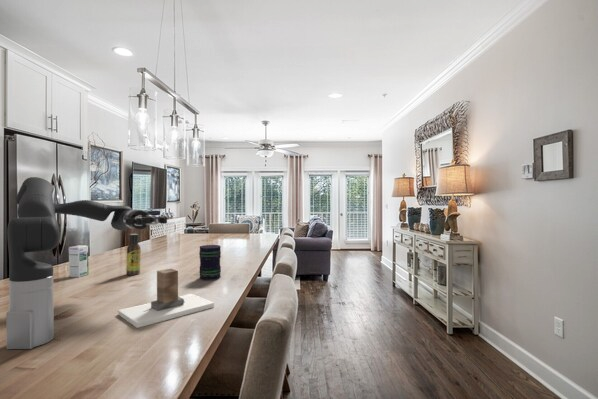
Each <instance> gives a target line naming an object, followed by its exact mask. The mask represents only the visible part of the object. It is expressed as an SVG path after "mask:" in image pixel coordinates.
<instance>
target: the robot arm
mask: <svg viewBox="0 0 598 399" xmlns="http://www.w3.org/2000/svg"><path fill="white" fill-rule="evenodd" d="M54 191H55V187H54V185H53V184H52V183H51V182H50V181H48V180H46V179H45V178H41V177H39V176H38V177H37V176H31V177H27V178H25V179H24V181H23V182H22V183H21V185H20V188H19V190H18V192H17V194H16V196H15V199H14V201H15V204H17V205H18V206H17V210H16V211H17V217H13V218H11V219H10V220H9V222H8V224H7V233H6V234H7V246H8V247H7V249H8V261H9V262H8V264H9V265H8V268H9V270H8V272H9V275H8V276H9V277H8V281H9V282H8V286H9V287H8V288H9V289H8V291H9V294H8V295H9V296H8V297H9V298H8V300H9V301H8V303H9V305H8V306H9V310H8V311H6V316H5V319H6V322H5V323H6V350H31V349H33V348H35V347H39V346H42V345H44V344H48V343H49V342H51V341H52V340H53V339H54V338H55V334H54V333H55V332H54V331H55V329H54V328H55V324H54V322H55V321H54V320H55V317H54V313H55V311H54V310H55V308H54V267H53V266H54V265H52V264H50V263H47V262H42V261H38V260H37V261H36V260H33V259H31V258H29V257H27V256H26V255H25V253H36V252H37V253H38V252H45V251H52V250H53V249H55V248H56V247H58V244H59V242H60V238H61V236H60V235H61V233H60V226H59V223H58V220H57V218H56V214H60V215H69V216H76V217H83V218H87V219H90V220H95V221H99V222H105V221H107V219H108V218H109V216H110V215H111V214H112V213H113V215H112V218H111V220H110V221H111V222H110V225H111V227H112V228H113V229H114V230H117V231H126V230H128V229H132V230H133V229H134V230H145V229H147V228H148V227H149V226H153V225H158V224H167V223H168V216H167V215H166V216H164V215H163V216H162V215H152V214H150V213H149V212H147V211H146V210H144V209H143V210H142V209H133V208H132V207H130V206H128V205H109V204H105V203H102V202H98V201H94V200H89V199H81V200H75V201H70V202H64V203H54V198H53V193H54Z"/></svg>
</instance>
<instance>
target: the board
mask: <svg viewBox="0 0 598 399" xmlns="http://www.w3.org/2000/svg"><path fill="white" fill-rule="evenodd" d="M178 297H180V298H183V299H184V305H180V306H176V307H172V308H168V309H164V310H160V311H156V310H155V309H153V308H151V302H148V303H144V304H139V305H136V306H129V307H127V308H126V307H125V308H121V309H118V310H117V311H118V313H117V314H118V316H119V317H121V318H122V319H124V320H125V321H127V323H129V324H130V325H132V326H134V328H137V329H138V328H142V327H146V326H149V325H152V324H156V323H157V324H158V323H161V322H164V321H167V320H168V321H169V320H172V319H175V318H179V317H182V316H186V315H189V314H194V313H198V312H201V311H205V310H208V309H213V308H214V307H215V302H213V301H211V300H208V299H206V298H203V297H202V296H198V295H196V294H194V293H188V294H184V295H180V296H179V295H178Z"/></svg>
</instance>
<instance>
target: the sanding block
mask: <svg viewBox="0 0 598 399" xmlns="http://www.w3.org/2000/svg"><path fill="white" fill-rule="evenodd" d="M178 296H179V271H178V270H177V269H174V268H167V269H161V270H157V271H156V300H153V301H151V302H150V303H151V308H153V309H155V310H156V311H160V310H164V309H168V308H172V307H176V306H180V305H184V299H183V298H180V297H178Z"/></svg>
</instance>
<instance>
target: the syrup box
mask: <svg viewBox="0 0 598 399" xmlns="http://www.w3.org/2000/svg"><path fill="white" fill-rule="evenodd" d="M68 263H69V264H68V265H69V266H68V267H69V268H68V269H69V270H68V271H69V272H68V273H69V277H70V278H71V277H72V278H80V277H85V276H88V275H89V274H90V273H89V246H88V245H86V244H85V245H84V244H81V245H79V244H78V245H74V246H69V247H68Z"/></svg>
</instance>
